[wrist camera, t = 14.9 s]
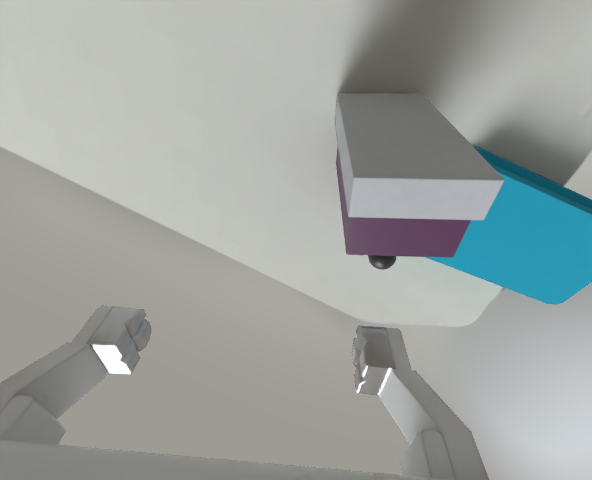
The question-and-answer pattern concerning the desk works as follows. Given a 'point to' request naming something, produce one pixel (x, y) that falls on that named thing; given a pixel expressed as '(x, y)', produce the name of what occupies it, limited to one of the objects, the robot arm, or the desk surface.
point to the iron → (406, 178)
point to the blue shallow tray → (529, 237)
